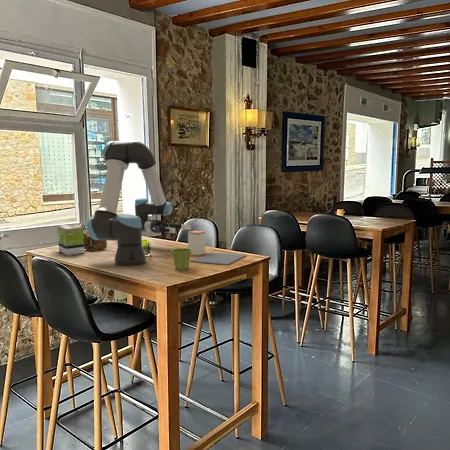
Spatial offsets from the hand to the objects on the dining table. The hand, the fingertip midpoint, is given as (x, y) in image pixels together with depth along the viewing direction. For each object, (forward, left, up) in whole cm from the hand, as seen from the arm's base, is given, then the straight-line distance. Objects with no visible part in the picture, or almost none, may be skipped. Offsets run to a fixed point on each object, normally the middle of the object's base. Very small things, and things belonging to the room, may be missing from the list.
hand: (183, 229), depth 236 cm
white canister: (-3, -10, -13) cm, 16 cm away
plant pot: (-37, -20, -13) cm, 43 cm away
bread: (-12, +55, -13) cm, 58 cm away
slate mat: (-11, -27, -13) cm, 31 cm away
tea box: (-26, +56, -13) cm, 63 cm away
